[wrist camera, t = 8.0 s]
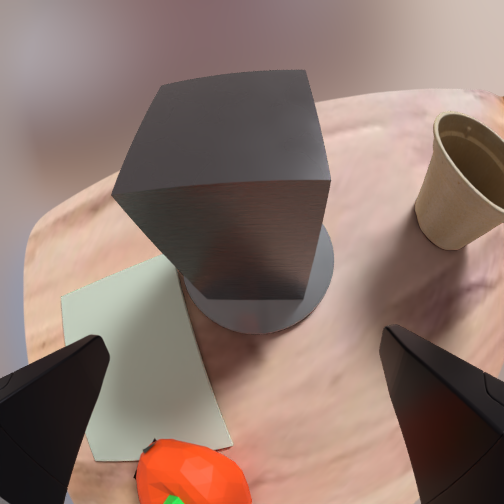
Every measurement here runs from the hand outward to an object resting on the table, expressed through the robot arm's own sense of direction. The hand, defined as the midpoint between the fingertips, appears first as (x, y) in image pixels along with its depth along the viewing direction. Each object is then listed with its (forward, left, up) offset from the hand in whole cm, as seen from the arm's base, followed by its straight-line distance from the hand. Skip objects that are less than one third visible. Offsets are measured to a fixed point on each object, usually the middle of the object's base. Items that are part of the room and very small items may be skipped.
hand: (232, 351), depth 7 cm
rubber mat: (+2, +10, -10) cm, 14 cm away
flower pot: (+4, -19, -10) cm, 22 cm away
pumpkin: (-7, +7, -10) cm, 14 cm away
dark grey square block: (+7, -2, -10) cm, 12 cm away
